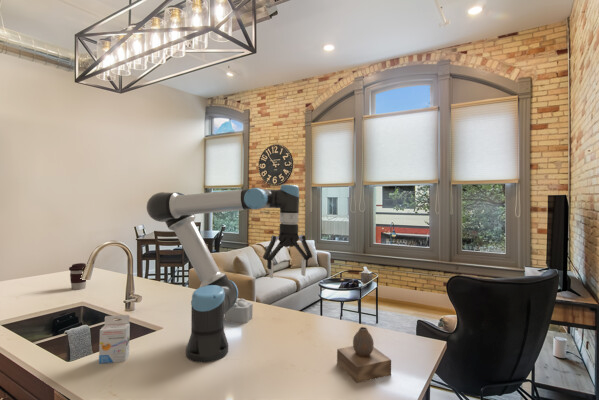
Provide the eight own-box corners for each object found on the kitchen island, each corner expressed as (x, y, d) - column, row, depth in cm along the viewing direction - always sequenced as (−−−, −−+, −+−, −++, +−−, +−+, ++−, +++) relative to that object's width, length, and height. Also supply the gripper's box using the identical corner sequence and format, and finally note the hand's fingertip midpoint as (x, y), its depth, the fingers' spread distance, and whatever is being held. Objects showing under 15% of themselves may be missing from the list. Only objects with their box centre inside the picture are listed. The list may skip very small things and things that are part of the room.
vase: (361, 360, 106) (361, 333, 106) (348, 351, 112) (349, 326, 112) (377, 356, 109) (378, 330, 109) (364, 347, 115) (365, 323, 115)
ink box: (98, 364, 111) (98, 321, 111) (103, 357, 116) (104, 315, 116) (125, 361, 113) (126, 319, 113) (129, 355, 118) (130, 314, 118)
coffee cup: (64, 290, 197) (64, 265, 197) (78, 285, 207) (78, 262, 207) (78, 291, 195) (79, 266, 195) (92, 286, 205) (92, 263, 205)
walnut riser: (356, 382, 102) (357, 366, 102) (337, 363, 114) (337, 348, 114) (391, 375, 107) (391, 359, 107) (368, 356, 119) (368, 343, 119)
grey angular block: (244, 324, 148) (244, 305, 147) (219, 321, 152) (219, 302, 152) (254, 316, 157) (254, 299, 157) (231, 313, 161) (231, 296, 161)
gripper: (260, 224, 122) (259, 280, 122) (321, 224, 131) (319, 276, 131) (256, 222, 129) (254, 275, 129) (313, 222, 138) (312, 272, 138)
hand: (287, 276), depth 130 cm, fingers open, 13 cm apart
